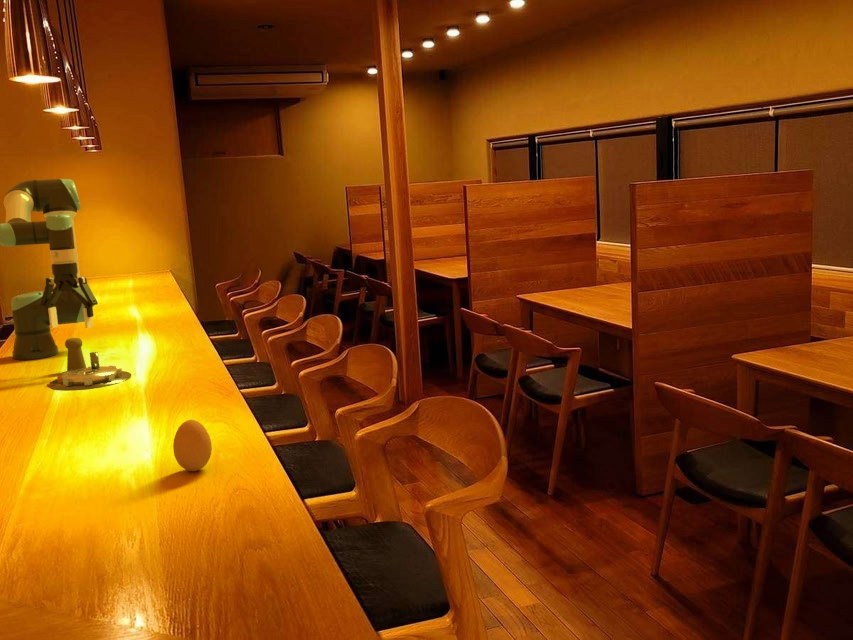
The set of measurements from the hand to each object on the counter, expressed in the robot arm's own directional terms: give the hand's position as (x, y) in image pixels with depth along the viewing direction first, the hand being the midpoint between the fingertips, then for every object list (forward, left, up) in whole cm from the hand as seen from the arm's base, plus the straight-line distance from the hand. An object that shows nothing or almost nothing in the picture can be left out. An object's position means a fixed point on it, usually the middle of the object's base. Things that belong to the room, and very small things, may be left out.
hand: (71, 327), depth 261 cm
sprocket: (+14, -11, -15) cm, 23 cm away
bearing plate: (+14, -11, -15) cm, 23 cm away
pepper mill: (0, 0, -15) cm, 15 cm away
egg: (+92, -78, -15) cm, 121 cm away
